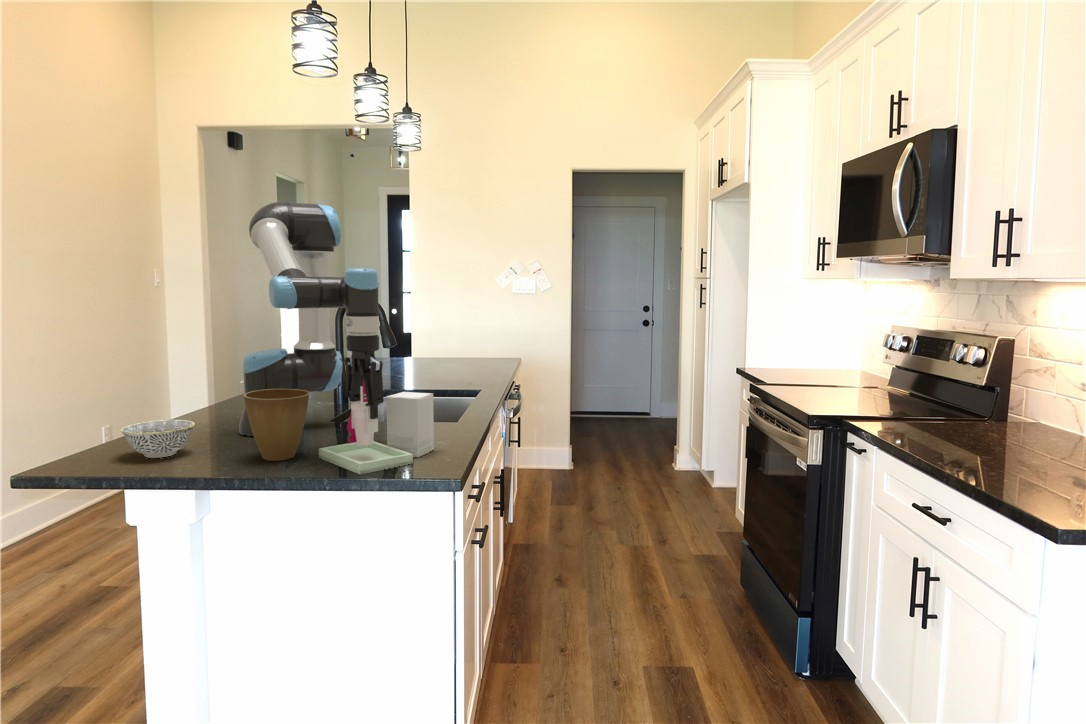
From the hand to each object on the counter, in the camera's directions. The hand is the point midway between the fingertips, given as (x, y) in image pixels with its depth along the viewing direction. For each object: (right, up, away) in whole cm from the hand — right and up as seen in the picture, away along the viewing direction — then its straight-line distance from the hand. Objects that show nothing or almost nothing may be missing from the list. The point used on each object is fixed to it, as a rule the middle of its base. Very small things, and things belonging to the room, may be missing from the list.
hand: (364, 429), depth 172 cm
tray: (0, -8, +1) cm, 8 cm away
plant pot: (-22, -7, +4) cm, 23 cm away
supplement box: (+9, -7, +10) cm, 15 cm away
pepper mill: (-6, -6, +20) cm, 22 cm away
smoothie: (0, -4, 0) cm, 4 cm away
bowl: (-52, -7, +5) cm, 52 cm away
